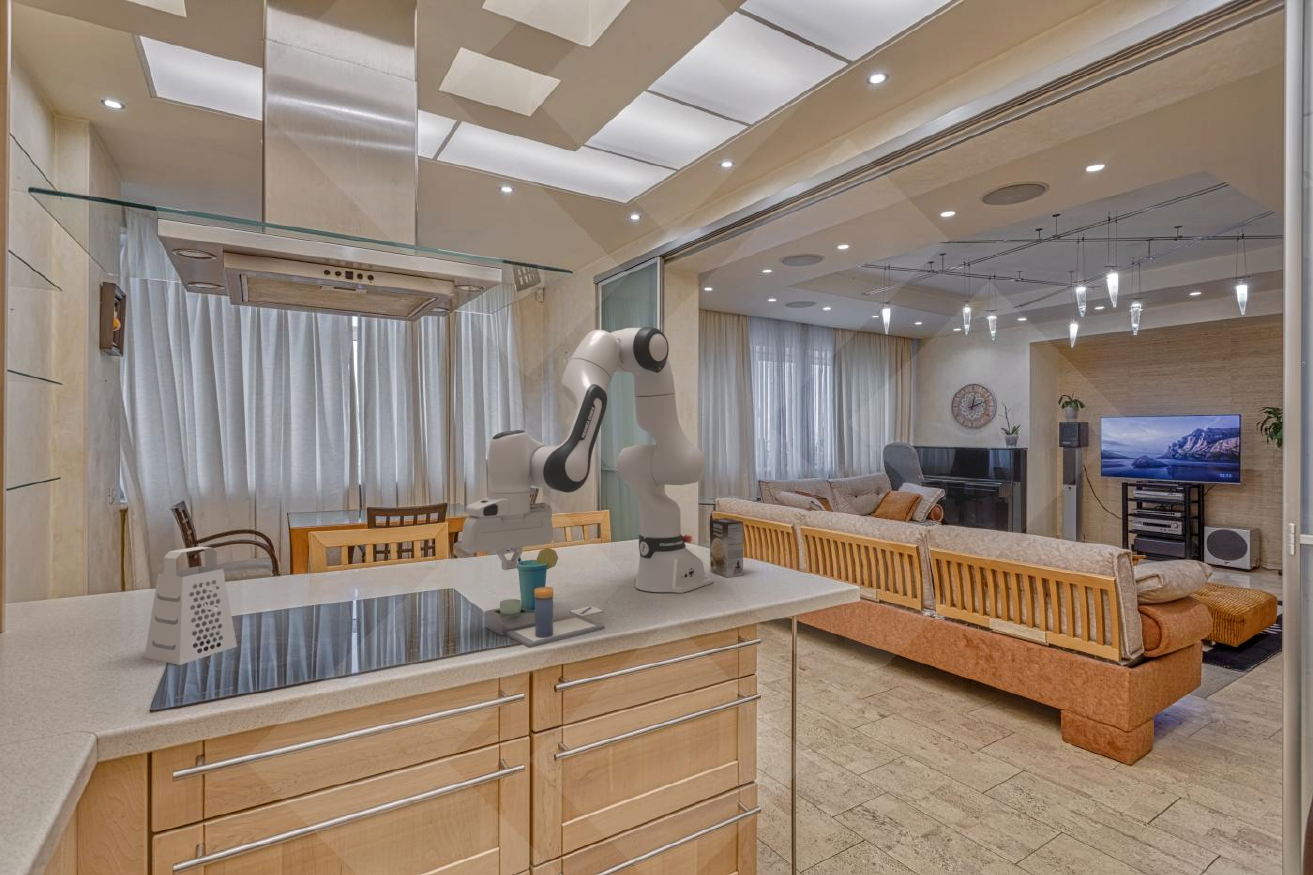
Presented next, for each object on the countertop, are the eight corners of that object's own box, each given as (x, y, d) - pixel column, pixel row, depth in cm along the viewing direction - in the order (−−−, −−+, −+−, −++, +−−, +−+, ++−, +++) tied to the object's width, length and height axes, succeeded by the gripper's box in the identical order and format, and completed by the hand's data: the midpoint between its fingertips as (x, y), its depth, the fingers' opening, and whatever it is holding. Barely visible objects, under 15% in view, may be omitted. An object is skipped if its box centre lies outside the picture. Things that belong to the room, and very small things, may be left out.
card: (591, 607, 149) (591, 605, 149) (602, 611, 146) (602, 610, 146) (569, 612, 146) (569, 610, 146) (581, 616, 142) (581, 615, 142)
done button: (514, 615, 137) (514, 598, 137) (524, 620, 134) (524, 602, 134) (496, 619, 134) (496, 601, 134) (505, 624, 131) (505, 605, 131)
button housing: (518, 619, 140) (518, 604, 140) (535, 628, 134) (535, 611, 134) (485, 626, 135) (485, 610, 135) (501, 636, 129) (501, 619, 129)
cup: (501, 614, 144) (501, 550, 144) (497, 605, 152) (497, 544, 151) (561, 607, 149) (560, 545, 149) (554, 599, 157) (553, 540, 157)
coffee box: (708, 572, 187) (708, 519, 187) (726, 569, 191) (725, 517, 190) (727, 578, 179) (726, 522, 179) (744, 575, 183) (744, 521, 182)
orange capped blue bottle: (547, 630, 130) (547, 586, 130) (557, 635, 127) (556, 589, 127) (531, 634, 127) (531, 589, 127) (540, 639, 124) (540, 592, 124)
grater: (237, 646, 123) (236, 546, 123) (179, 665, 113) (178, 556, 113) (202, 640, 127) (201, 543, 127) (144, 657, 117) (143, 552, 117)
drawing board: (578, 618, 141) (578, 615, 141) (604, 628, 133) (604, 625, 133) (506, 634, 129) (506, 631, 129) (529, 647, 122) (529, 643, 122)
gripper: (544, 500, 143) (544, 560, 143) (458, 507, 130) (458, 572, 130) (558, 502, 138) (558, 564, 138) (471, 509, 125) (471, 578, 125)
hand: (509, 568), depth 134 cm, fingers closed
